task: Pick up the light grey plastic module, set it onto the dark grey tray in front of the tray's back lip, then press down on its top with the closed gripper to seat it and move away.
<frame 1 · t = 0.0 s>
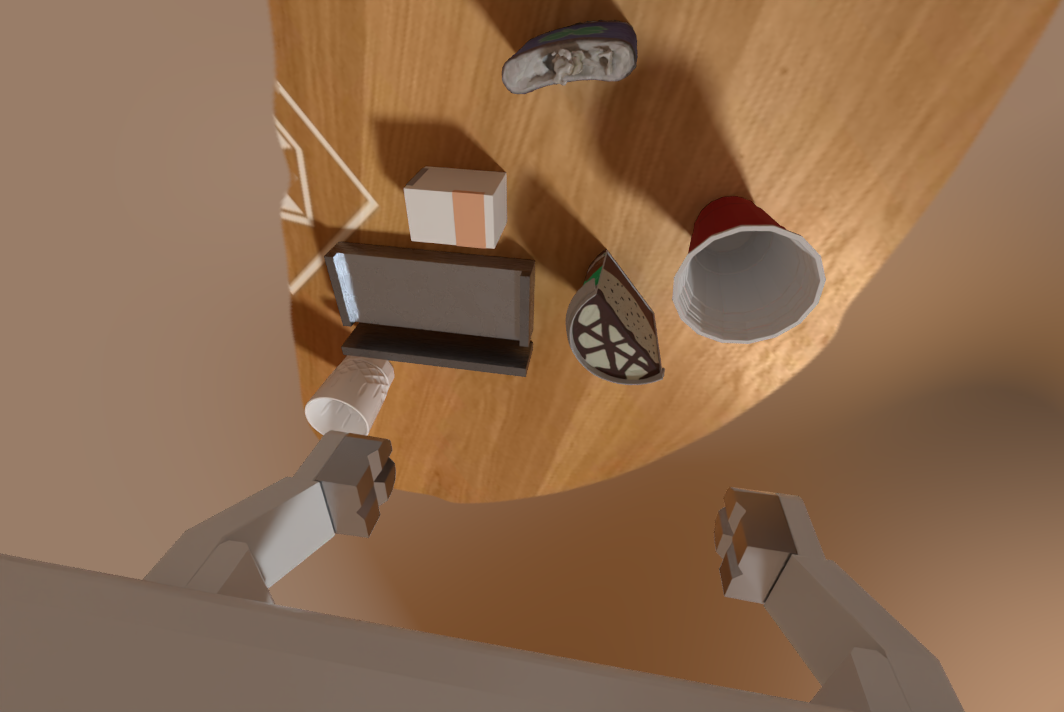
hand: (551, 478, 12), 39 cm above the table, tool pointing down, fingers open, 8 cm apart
dark grey tray: (439, 286, 56), on the table
food container: (607, 294, 54), on the table
module: (467, 194, 49), on the table
flask: (578, 45, 39), on the table
white cup: (371, 366, 66), on the table
plastic cup: (723, 225, 47), on the table
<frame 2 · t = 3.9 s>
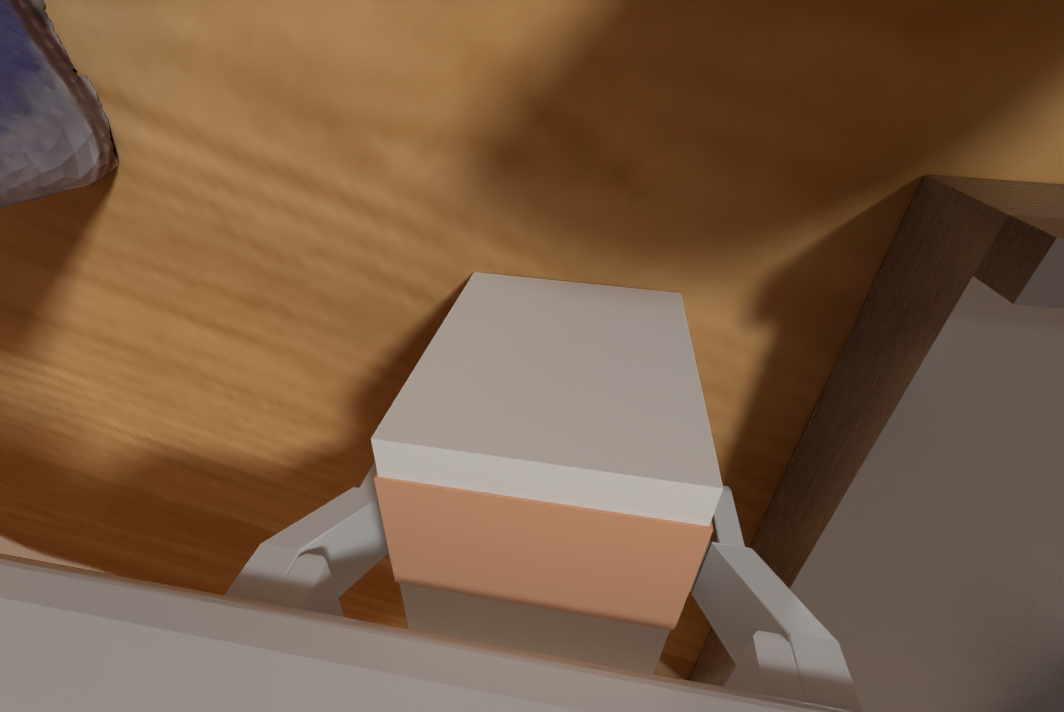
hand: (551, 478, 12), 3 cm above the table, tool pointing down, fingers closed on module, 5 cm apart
dark grey tray: (908, 556, 15), on the table
module: (562, 409, 14), on the table, touching gripper
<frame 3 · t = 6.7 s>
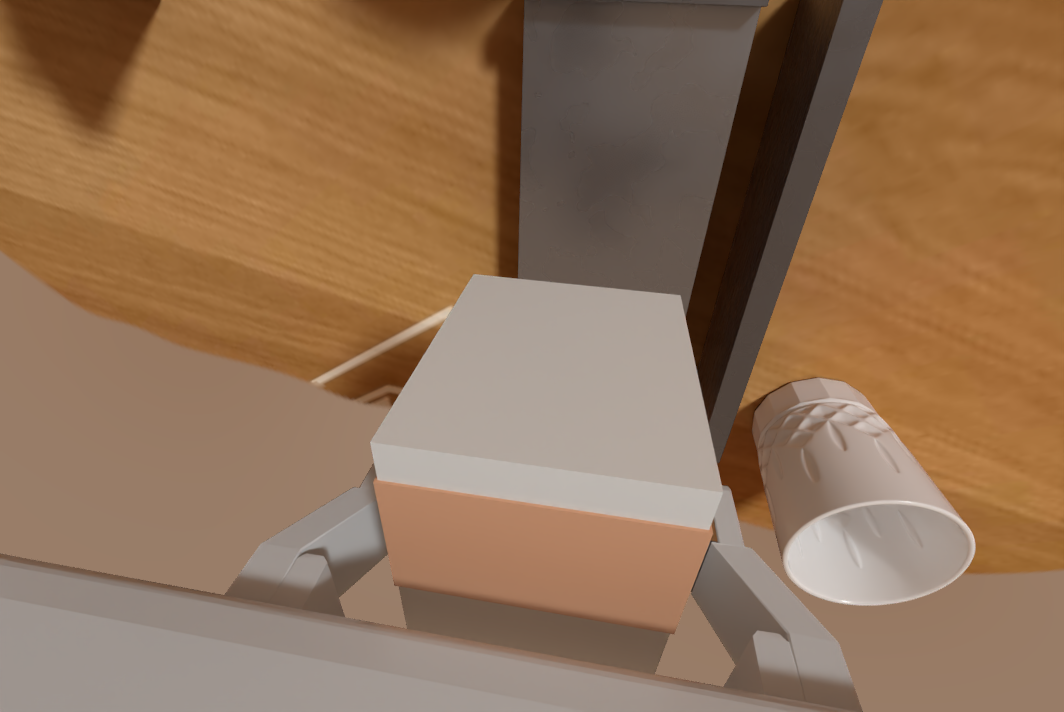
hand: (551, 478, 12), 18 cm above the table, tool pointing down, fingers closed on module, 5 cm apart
dark grey tray: (608, 232, 26), on the table
module: (562, 411, 14), point 15 cm above the table, touching gripper
white cup: (806, 417, 31), on the table
when the fingers open (6 cm above the table, at t = 9.5 s): module stays where it is, resting on dark grey tray.
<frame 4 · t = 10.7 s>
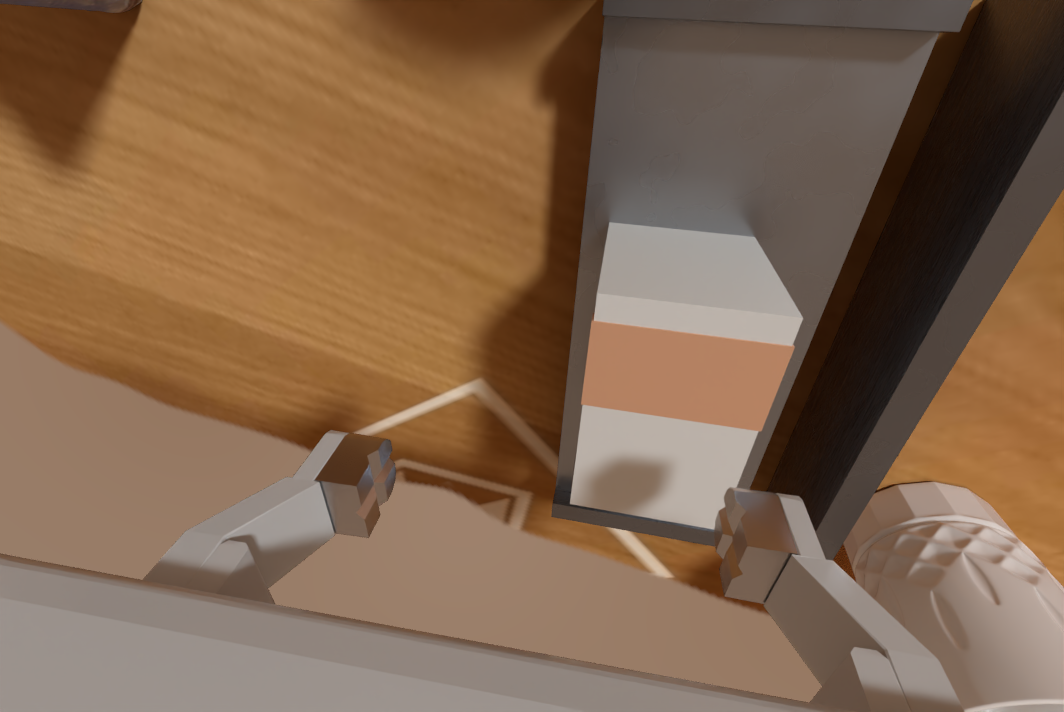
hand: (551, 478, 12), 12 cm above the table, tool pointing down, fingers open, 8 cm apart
dark grey tray: (682, 303, 21), on the table
module: (659, 328, 19), point 2 cm above the table, touching dark grey tray
white cup: (910, 522, 26), on the table
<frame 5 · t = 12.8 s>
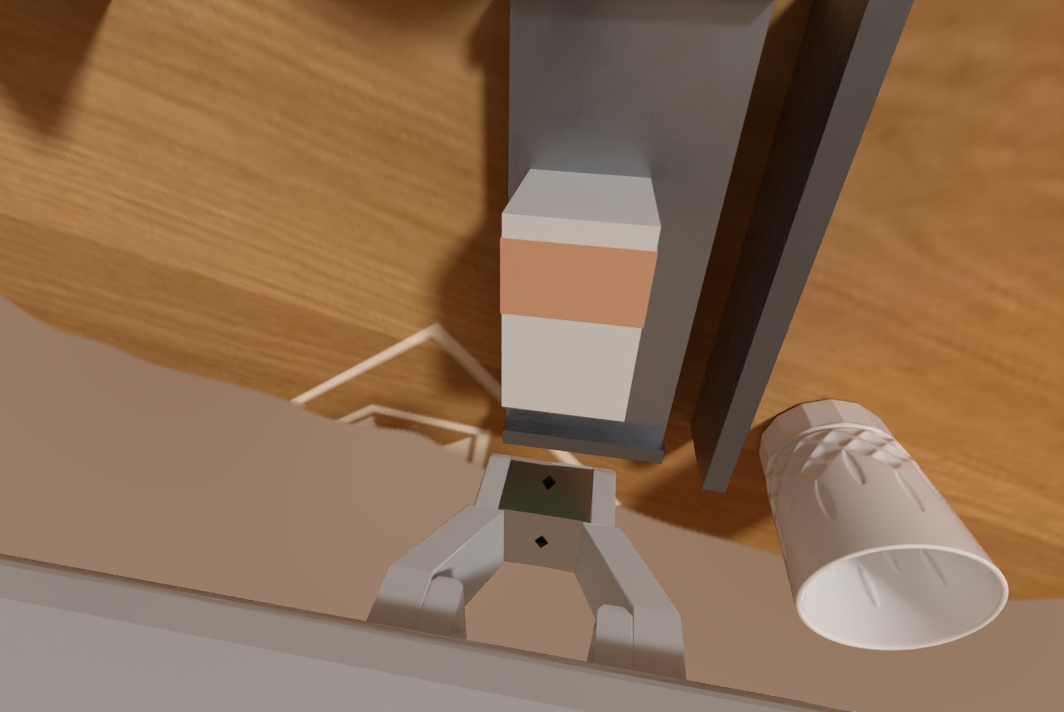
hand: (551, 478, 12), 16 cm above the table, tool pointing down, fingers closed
dark grey tray: (605, 245, 24), on the table
module: (580, 263, 23), point 2 cm above the table, touching dark grey tray
white cup: (817, 439, 29), on the table
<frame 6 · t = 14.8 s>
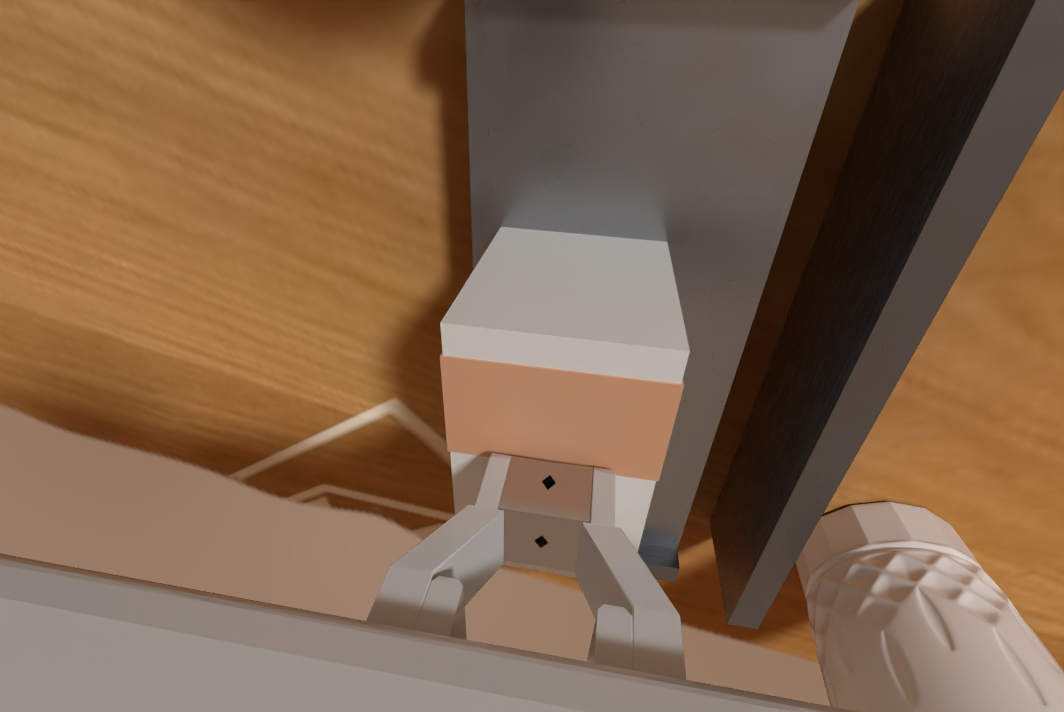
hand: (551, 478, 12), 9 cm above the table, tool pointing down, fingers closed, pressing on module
dark grey tray: (605, 315, 19), on the table
module: (571, 346, 17), point 2 cm above the table, touching gripper, dark grey tray
white cup: (868, 543, 24), on the table
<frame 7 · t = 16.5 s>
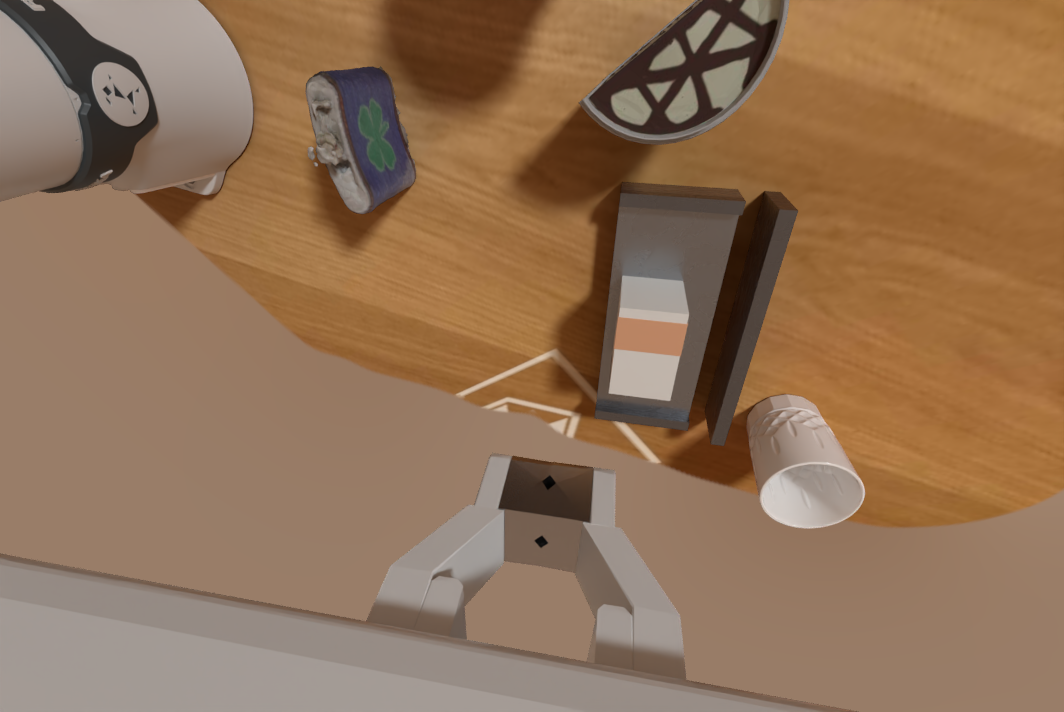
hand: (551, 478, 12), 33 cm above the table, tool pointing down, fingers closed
dark grey tray: (657, 308, 45), on the table
food container: (684, 69, 35), on the table
module: (645, 320, 43), point 2 cm above the table, touching dark grey tray
flask: (391, 129, 41), on the table
white cup: (781, 419, 49), on the table
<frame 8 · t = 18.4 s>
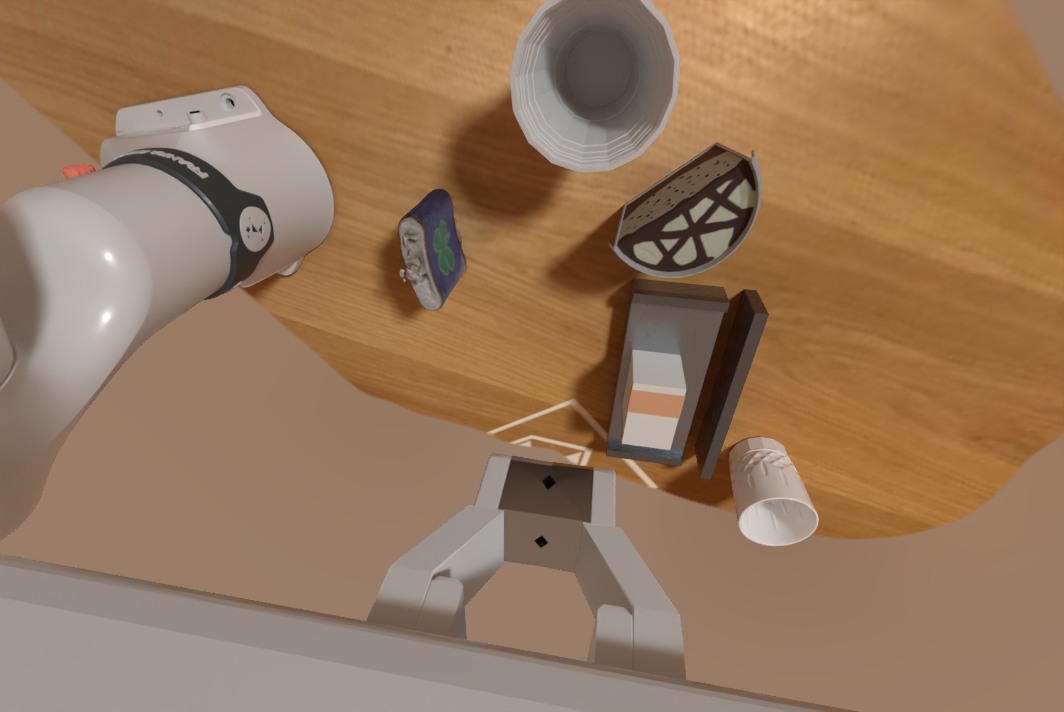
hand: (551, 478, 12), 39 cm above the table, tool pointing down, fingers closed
dark grey tray: (658, 370, 56), on the table
food container: (684, 202, 46), on the table
module: (649, 382, 54), point 2 cm above the table, touching dark grey tray
flask: (448, 232, 51), on the table
white cup: (756, 455, 61), on the table
plastic cup: (600, 73, 41), on the table
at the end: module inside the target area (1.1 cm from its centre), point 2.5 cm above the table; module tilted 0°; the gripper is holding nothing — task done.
